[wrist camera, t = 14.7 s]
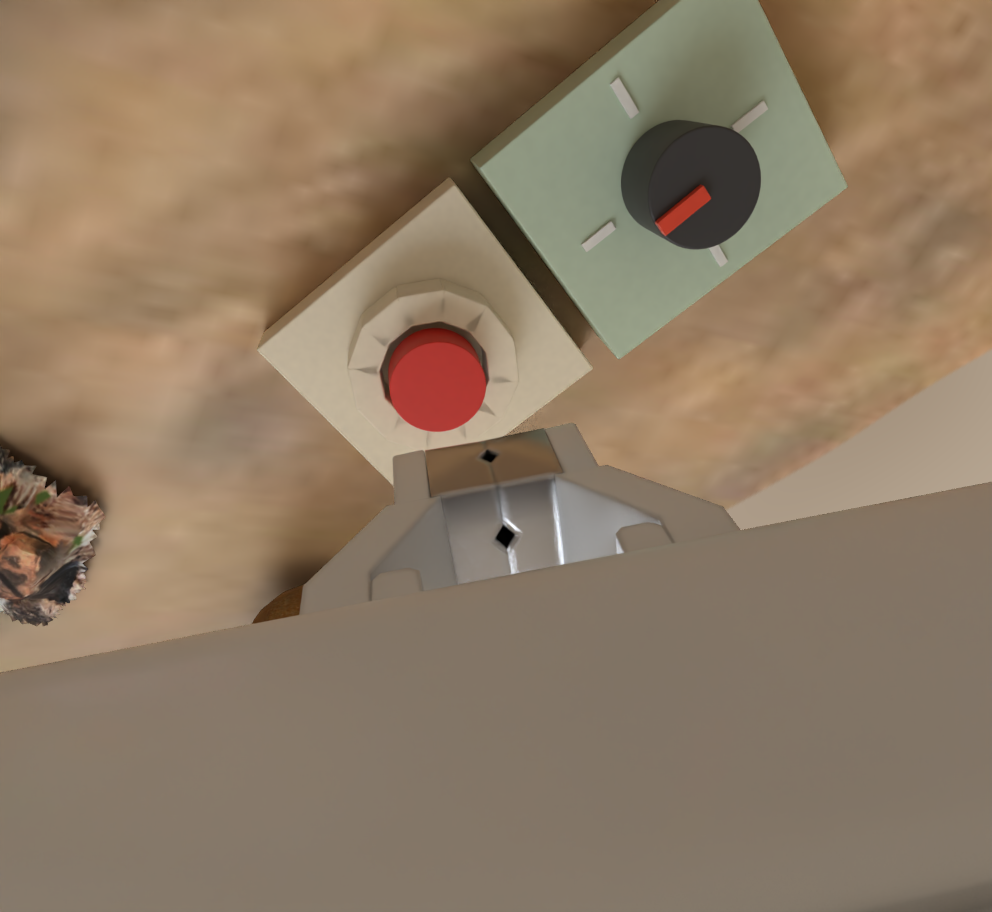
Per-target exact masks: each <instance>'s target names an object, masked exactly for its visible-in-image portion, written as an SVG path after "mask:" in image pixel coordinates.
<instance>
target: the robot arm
mask: <svg viewBox="0 0 992 912" xmlns="http://www.w3.org/2000/svg"><path fill="white" fill-rule="evenodd" d="M392 461H393V483H394V505H388V506H386V507H385V508H384V509H383V510H382V511H381V512H380V513H379V514H377V515H376V516H375V517H374V518H373V519H372V520H371V521H370V522H369V523H368V524H367V525H366V526H365V527H364V528H363V529H362V530H361V531H360V532H359V533H358V534H357V535H356V536H355V537H354V538H352V539H351V540H350V541H349V542H348V543H347V544H346V545H345V546H344V547H343V548H342V549H341V550H340V551H339V552H338V553H337V554H336V555H335V556H334V557H333V558H332V559H331V560H330V561H329V562H327V563H326V564H325V565H324V566H323V567H322V568H321V569H320V570H319V571H318V572H317V573H316V574H315V575H314V576H313V577H312V578H311V579H310V580H309V581H308V582H307V583H306V584H305V585H304V586H303V591H302V598H301V605H300V613H299V615H297V616H291V617H286V618H281V619H276V620H270V621H265V622H260V623H255V624H250V625H244V626H239V627H234V628H229V629H224V630H218V631H213V632H208V633H203V634H198V635H193V636H187V637H182V638H177V639H172V640H167V641H161V642H156V643H151V644H146V645H141V646H136V647H130V648H125V649H120V650H115V651H110V652H105V653H99V654H94V655H89V656H84V657H79V658H74V659H68V660H63V661H58V662H53V663H48V664H42V665H37V666H32V667H27V668H22V669H17V670H11V671H6V672H1V673H0V912H992V482H988V483H983V484H978V485H973V486H967V487H962V488H957V489H952V490H947V491H942V492H936V493H931V494H926V495H921V496H916V497H910V498H905V499H900V500H895V501H890V502H885V503H880V504H874V505H869V506H864V507H859V508H853V509H848V510H843V511H838V512H833V513H827V514H822V515H817V516H812V517H807V518H802V519H796V520H791V521H786V522H781V523H775V524H770V525H765V526H760V527H755V528H750V529H744V530H740V529H739V527H738V526H737V525H736V523H735V522H734V521H733V519H732V518H731V517H730V515H729V514H728V513H727V511H726V510H725V509H724V507H723V506H720V505H717V504H714V503H711V502H709V501H706V500H703V499H700V498H698V497H695V496H692V495H689V494H686V493H684V492H681V491H678V490H675V489H672V488H670V487H667V486H664V485H661V484H659V483H656V482H653V481H650V480H647V479H645V478H642V477H639V476H636V475H634V474H631V473H628V472H625V471H622V470H620V469H617V468H614V467H611V466H608V465H604V466H598V464H597V462H596V460H595V459H594V457H593V455H592V453H591V451H590V449H589V448H588V446H587V444H586V442H585V440H584V439H583V437H582V435H581V433H580V431H579V430H578V428H577V426H576V424H574V423H568V424H564V425H560V426H555V427H551V428H547V429H544V428H542V429H537V430H533V431H528V432H523V433H518V434H513V435H508V436H503V437H498V438H494V439H489V440H485V441H478V442H472V443H466V444H460V445H454V446H448V447H442V448H435V449H429V450H425V452H424V451H423V450H419V451H414V452H410V453H405V454H400V455H396V456H394V457H393V458H392Z"/></svg>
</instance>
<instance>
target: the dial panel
mask: <svg viewBox="0 0 992 912" xmlns="http://www.w3.org/2000/svg"><path fill="white" fill-rule="evenodd" d="M672 120H687V121H693V122H699V123H705V124H712V125H718V126H723V127H727V128H730V129H732V130H734V131H736V132H738V133H739V134H741V135H742V136H743V137H744V138H745V139H746V140H747V141H748V142H749V143H750V144H751V146H752V147H753V149H754V151H755V153H756V155H757V158H758V161H759V164H760V170H761V188H760V193H759V197H758V201H757V204H756V206H755V208H754V211H753V212H752V214H751V216H750V218H749V219H748V221H747V222H746V223H745V225H744V226H743V227H742V228H741V229H740V230H739V231H738V232H737V233H736V234H735V235H734V236H732V237H731V238H729V239H728V240H726V241H725V242H723V243H721V244H719V245H716V246H714V247H710V248H707V249H699V250H693V249H685V248H682V247H679V246H676V245H674V244H672V243H670V242H669V241H667V240H665V239H663V238H662V237H660V236H658V235H656V234H655V233H653V232H651V231H649V230H648V229H646V228H644V227H643V226H641V225H640V224H638V223H637V222H636V221H635V220H634V219H633V218H632V216H631V215H630V214H629V212H628V210H627V208H626V206H625V204H624V201H623V197H622V192H621V176H622V170H623V166H624V163H625V160H626V157H627V155H628V153H629V151H630V150H631V148H632V147H633V145H634V144H635V143H636V141H637V140H638V139H639V138H640V137H641V136H642V135H643V134H644V133H645V132H647V131H648V130H649V129H651V128H653V127H654V126H656V125H658V124H661V123H663V122H667V121H672ZM470 161H471V163H472V164H473V165H474V167H475V168H476V169H477V171H478V172H479V174H480V175H481V176H482V178H483V179H484V180H485V182H486V183H487V185H488V186H489V187H490V189H491V190H492V191H493V193H494V194H495V196H496V197H497V198H498V200H499V201H500V202H501V204H502V205H503V207H504V208H505V209H506V211H507V212H508V213H509V215H510V216H511V217H512V219H513V220H514V222H515V223H516V224H517V226H518V227H519V228H520V230H521V231H522V233H523V234H524V235H525V237H526V238H527V239H528V241H529V242H530V244H531V245H532V246H533V248H534V249H535V250H536V252H537V253H538V255H539V256H540V257H541V259H542V260H543V261H544V263H545V264H546V265H547V267H548V268H549V270H550V271H551V272H552V274H553V275H554V276H555V278H556V279H557V281H558V282H559V283H560V285H561V286H562V287H563V289H564V290H565V292H566V293H567V294H568V296H569V297H570V298H571V300H572V301H573V303H574V304H575V305H576V307H577V308H578V309H579V311H580V312H581V313H582V315H583V316H584V318H585V319H586V320H587V322H588V323H589V324H590V326H591V327H592V329H593V330H594V331H595V333H596V334H597V335H598V337H599V338H600V339H601V340H602V342H603V343H604V344H605V345H606V346H607V347H608V348H609V350H610V351H611V352H612V353H613V354H614V355H615V356H616V358H617V359H620V358H622V357H623V356H624V355H626V354H627V353H628V352H630V351H631V350H632V349H634V348H635V347H636V346H638V345H639V344H640V343H642V342H643V341H644V340H646V339H647V338H648V337H650V336H651V335H652V334H654V333H655V332H656V331H658V330H659V329H660V328H662V327H663V326H664V325H666V324H667V323H668V322H670V321H671V320H672V319H674V318H675V317H676V316H677V315H679V314H680V313H681V312H683V311H684V310H685V309H687V308H688V307H689V306H691V305H692V304H693V303H695V302H696V301H697V300H699V299H700V298H701V297H703V296H704V295H705V294H707V293H708V292H709V291H711V290H712V289H713V288H715V287H716V286H717V285H719V284H720V283H721V282H723V281H724V280H725V279H727V278H728V277H729V276H731V275H732V274H733V273H734V272H736V271H737V270H738V269H740V268H741V267H742V266H744V265H745V264H746V263H748V262H749V261H750V260H752V259H753V258H754V257H756V256H757V255H758V254H760V253H761V252H762V251H764V250H765V249H766V248H768V247H769V246H770V245H772V244H773V243H774V242H776V241H777V240H778V239H780V238H781V237H782V236H784V235H785V234H786V233H788V232H789V231H790V230H792V229H793V228H794V227H795V226H797V225H798V224H799V223H801V222H802V221H803V220H805V219H806V218H807V217H809V216H810V215H811V214H813V213H814V212H815V211H817V210H818V209H819V208H821V207H822V206H823V205H825V204H826V203H827V202H829V201H830V200H831V199H833V198H834V197H835V196H837V195H838V194H839V193H841V192H842V191H843V190H845V189H846V188H847V187H848V185H847V183H846V181H845V179H844V177H843V175H842V173H841V171H840V169H839V167H838V165H837V163H836V161H835V158H834V156H833V154H832V152H831V150H830V148H829V146H828V144H827V142H826V140H825V138H824V136H823V134H822V131H821V129H820V127H819V125H818V123H817V121H816V119H815V117H814V115H813V113H812V111H811V109H810V107H809V104H808V102H807V100H806V98H805V96H804V94H803V92H802V90H801V88H800V86H799V84H798V82H797V80H796V77H795V75H794V73H793V71H792V69H791V67H790V65H789V63H788V61H787V59H786V57H785V55H784V53H783V50H782V48H781V46H780V44H779V42H778V40H777V38H776V36H775V34H774V32H773V30H772V28H771V26H770V23H769V21H768V19H767V17H766V15H765V13H764V11H763V9H762V7H761V5H760V3H759V1H758V0H659V1H658V2H656V3H655V4H654V5H653V6H652V7H651V8H649V9H648V10H647V11H646V12H645V13H643V14H642V15H641V16H640V17H639V18H637V19H636V20H635V21H634V22H633V23H631V24H630V25H629V26H628V27H627V28H626V29H624V30H623V31H622V32H621V33H620V34H618V35H617V36H616V37H615V38H614V39H612V40H611V41H610V42H609V43H608V44H606V45H605V46H604V47H603V48H602V49H600V50H599V51H598V52H597V53H596V54H595V55H593V56H592V57H591V58H590V59H589V60H587V61H586V62H585V63H584V64H583V65H581V66H580V67H579V68H578V69H577V70H575V71H574V72H573V73H572V74H571V75H570V76H568V77H567V78H566V79H565V80H564V81H562V82H561V83H560V84H559V85H558V86H556V87H555V88H554V89H553V90H552V91H550V92H549V93H548V94H547V95H546V96H545V97H543V98H542V99H541V100H540V101H539V102H537V103H536V104H535V105H534V106H533V107H531V108H530V109H529V110H528V111H527V112H525V113H524V114H523V115H522V116H521V117H519V118H518V119H517V120H516V121H515V122H514V123H512V124H511V125H510V126H509V127H508V128H506V129H505V130H504V131H503V132H502V133H500V134H499V135H498V136H497V137H496V138H494V139H493V140H492V141H491V142H490V143H489V144H487V145H486V146H485V147H484V148H483V149H481V150H480V151H479V152H478V153H477V154H475V155H474V156H473V157H472V158H471V159H470Z"/></svg>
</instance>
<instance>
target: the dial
mask: <svg viewBox="0 0 992 912" xmlns="http://www.w3.org/2000/svg"><path fill="white" fill-rule="evenodd" d="M760 188H761V170H760V164H759V161H758V158H757V155H756V153H755V151H754V149H753V147H752V146H751V144H750V143H749V142H748V141H747V140H746V139H745V138H744V137H743V136H742V135H741V134H739V133H738V132H736V131H734V130H732V129H730V128H727V127H723V126H718V125H712V124H705V123H699V122H693V121H687V120H672V121H667V122H663V123H661V124H658V125H656V126H654V127H653V128H651V129H649V130H648V131H647V132H645V133H644V134H643V135H642V136H641V137H640V138H639V139H638V140H637V141H636V143H635V144H634V145H633V147H632V148H631V150H630V151H629V153H628V155H627V157H626V160H625V163H624V166H623V170H622V176H621V192H622V197H623V201H624V204H625V206H626V208H627V210H628V212H629V214H630V215H631V216H632V218H633V219H634V220H635V221H636V222H637V223H638V224H640V225H641V226H643V227H644V228H646V229H648V230H649V231H651V232H653V233H655V234H656V235H658V236H660V237H662V238H663V239H665V240H667V241H669V242H670V243H672V244H674V245H676V246H679V247H682V248H685V249H693V250H699V249H707V248H710V247H714V246H716V245H719V244H721V243H723V242H725V241H726V240H728V239H729V238H731V237H732V236H734V235H735V234H736V233H737V232H738V231H739V230H740V229H741V228H742V227H743V226H744V225H745V223H746V222H747V221H748V219H749V218H750V216H751V214H752V212H753V211H754V208H755V206H756V204H757V201H758V197H759V193H760Z"/></svg>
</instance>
